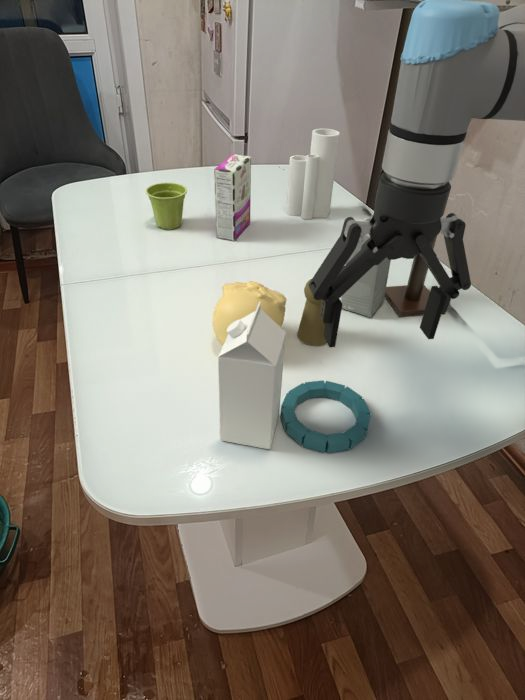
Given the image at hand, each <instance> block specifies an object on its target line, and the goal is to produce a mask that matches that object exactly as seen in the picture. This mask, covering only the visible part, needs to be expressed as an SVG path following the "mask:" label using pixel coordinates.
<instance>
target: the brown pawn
mask: <svg viewBox="0 0 525 700" xmlns="http://www.w3.org/2000/svg"><path fill="white" fill-rule="evenodd" d="M311 280H312V278H311V279H309V280H307V282H306V283H305V286H304V289H303V293H304V297H305V303H304V307H303V311H302V314H301V318H300V322H299V326H298V329H297V333H296V335H297V338H298V340H299V341H300V342H302V343H303V344H305V345H308V346H313V347H321V346H325V345H328V343H327V341H326V339H325V337H324V329H325V324H324V322H323V320H322V318H321V316H320V310H321V303H322V299H320V300H315V299H314V297H313V295H312V293H311V291H310V289H309V287H308V285H309V283H310V281H311Z"/></svg>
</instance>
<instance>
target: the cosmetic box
mask: <svg viewBox="0 0 525 700" xmlns="http://www.w3.org/2000/svg"><path fill="white" fill-rule="evenodd" d="M370 220H371V218H368V217H367V218H366V217H365V218H363V220H361V222H369V221H370ZM369 238H370V235H369V234H366V235H365V236H364V237H363V241H362V242H358V244H357V247H356V249H355V250H354V252H353V254H352V255H351V256H350V258H349V259H348V261H347V262H346V264H347V263H348V262H349V261H350V260H351V259H352V258H353V257H354V256H355V255H356V254H357V253H358V252H359V251H360V250H361V246H362V245H363V244H364V243H365V242H366V241H367V240H368V239H369ZM377 250H378V249H377V247H375V248H374V249H373V252H374V253H375V252H376V251H377ZM391 262H392V260H388V258H385V259H384V260H383V261H382V262H381V263H380V264H379V265H374V266H373V267H372V268H371V269H370V270H369V271H368V272H367V273H366V274H365V275H363V276H362V277H361V278H360V279H359V280H358V281H357V282H356V283H355V284H354V285H353V286H352V287H351V288H350V289H349V290H348V291H347V292H346V293H345V294H343V295H342V296H341V299H340V301H341V302H342V310H346V311H349V312H352V313H356V314H359V315H361V316H364V317H367V318H370V319H371V318H372V316H373V315H375V313H376V312H377V310H378V309H379V308H380V307H381V306H382V303H383V302H384V300H385V291H386V287H387V284H388V279H389V273H390V267H391ZM346 264H345V265H346Z"/></svg>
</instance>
